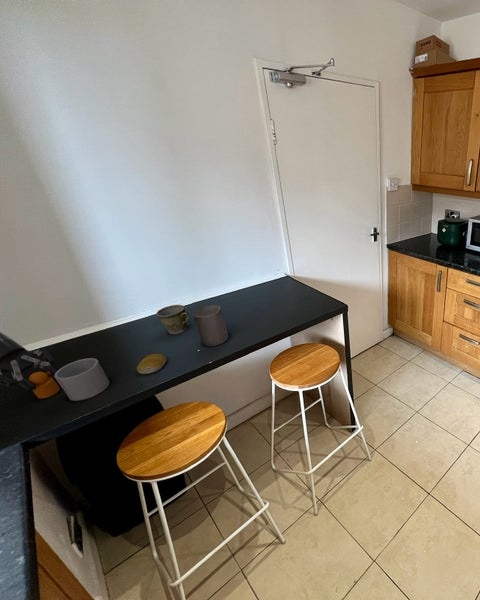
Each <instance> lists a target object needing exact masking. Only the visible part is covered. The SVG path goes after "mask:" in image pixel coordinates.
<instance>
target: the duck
mask: <svg viewBox="0 0 480 600" xmlns="http://www.w3.org/2000/svg"><path fill="white" fill-rule="evenodd" d="M49 375H51V372H49V371H48V372H46V371H36V372H33V373H32V374H30V375H29V376H28V381H29V382H31V383H32V384H34V385H35V386H36V389H35V390H33V391H32V392H33V393H34V394H35V396H36V398H38V399H47V398H50V397H52V396H54V395H56V394H58V392H59V391H60V389H61V387H60V385H58V384H57V383H58V382H57V381H56V380H55V379H54V377H53V376H49Z"/></svg>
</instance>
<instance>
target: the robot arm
mask: <svg viewBox="0 0 480 600" xmlns="http://www.w3.org/2000/svg"><path fill="white" fill-rule="evenodd" d="M35 356H38V357H41V358H42V359H43V360H42V359H39V358H35ZM55 360H56V359H55V357H53V356H52V354H51V353H50V352H49V351H48V350H47V348H45V347H43V346H42V347H40V348H39V349H37V350H34V351H31V350H28V349H26V348H25V347H24V346H22V345H21V344H20V343H18V342H17V341H16V340H14V339H12V338H11V337H9V336H8V335H7V334H6V333H3V332H2V331H0V385H3V386H5V387H7V388H11V387H13V386H15V385H19V386H20V387H22V388H24V389H25V390H26V391H32V392H33V390H35V389H36V386H35V385H34V384H32V383H31V382H29V379H27V378H24V377H23V375H22V373H23V372H24V371H26V370H28V369H31V368H36V369H42V370H45V371H44V372H45V373H46V372H48V371H49V372H51V374H50V375H51V377H52V378H55V373H56V372H57V371H58V370H59V369H57V368H55V367H54V366H52V365H54V363H55ZM3 373H10V374H11V376H12V378H13V379H11V378H9V377H7V376H5V375H3Z"/></svg>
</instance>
